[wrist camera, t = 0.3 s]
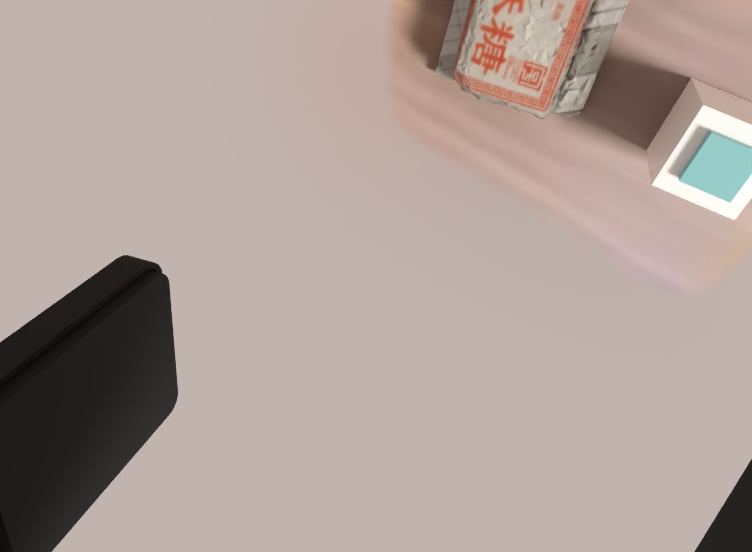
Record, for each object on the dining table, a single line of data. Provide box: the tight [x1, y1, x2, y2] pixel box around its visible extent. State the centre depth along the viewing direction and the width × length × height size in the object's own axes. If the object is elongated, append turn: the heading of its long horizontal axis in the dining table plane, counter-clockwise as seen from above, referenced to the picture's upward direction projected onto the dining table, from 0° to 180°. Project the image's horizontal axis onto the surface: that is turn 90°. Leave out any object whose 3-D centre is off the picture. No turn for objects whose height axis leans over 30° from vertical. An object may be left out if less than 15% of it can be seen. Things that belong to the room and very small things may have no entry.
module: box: [646, 78, 752, 220], centre depth 37 cm, size 5×5×7 cm
